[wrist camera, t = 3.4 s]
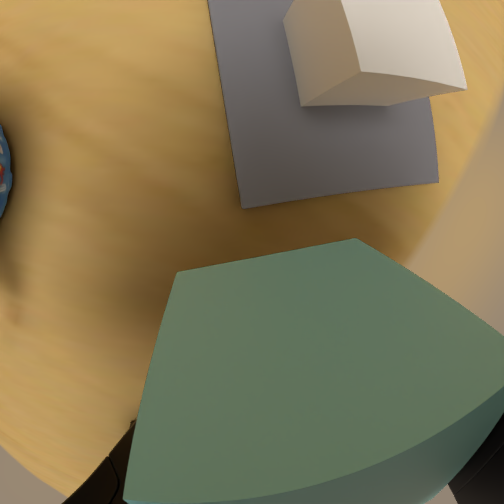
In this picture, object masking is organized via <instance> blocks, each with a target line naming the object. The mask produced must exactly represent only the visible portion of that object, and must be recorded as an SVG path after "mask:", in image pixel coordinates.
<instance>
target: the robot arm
mask: <svg viewBox="0 0 504 504" xmlns="http://www.w3.org/2000/svg"><path fill="white" fill-rule="evenodd" d="M136 421H137V420H136ZM136 421H134V422H131V424H130V428H129V430H128V431H127V432H126V433H125V435H124V436H123V437H122V438H121V439H120V441H119V442H118V443H117V444H116V446H115V447H114V448H113V449H112V451H111V452H110V453H109V456H107V457H106V458H105V459H104V460H103V461H102V463H101V464H100V465H99V466H98V467H97V469H96V470H95V471H94V472H93V473H92V474H91V475H90V477H89V478H88V479H87V480H86V481H85V482H84V483H83V484H82V485H81V486H80V487H79V488H78V489H77V490H76V491H75V492H74V493H73V494H72V495H71V496H70V497H68V498H67V499H66V500H65V501H64V502H63V503H62V504H128V503H127V502H126V501H124V500H123V493H124V487H125V480H126V474H127V468H128V462H129V457H130V451H131V446H132V441H133V436H134V431H135V426H136ZM448 485H449V487H450V489H451V491H452V493H453V495H454V497H455V499H456V501H457V503H458V504H504V413H503V414H502V416H501V417H500V419H499V420H498V422H497V423H496V425H495V426H494V428H493V429H492V431H491V432H490V434H489V435H488V436H487V438H486V439H485V440H484V442H483V443H482V444H481V446H480V447H479V448H478V449H477V451H476V452H475V453H474V454H473V456H472V457H471V458H470V459H469V461H468V462H467V463H466V464H465V465H464V466H463V468H462V469H461V470H460V471H459V472H458V473H457V474H456V475H455V476H454V477H453V479H452V480H451V481H450V482H449V483H448Z"/></svg>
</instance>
